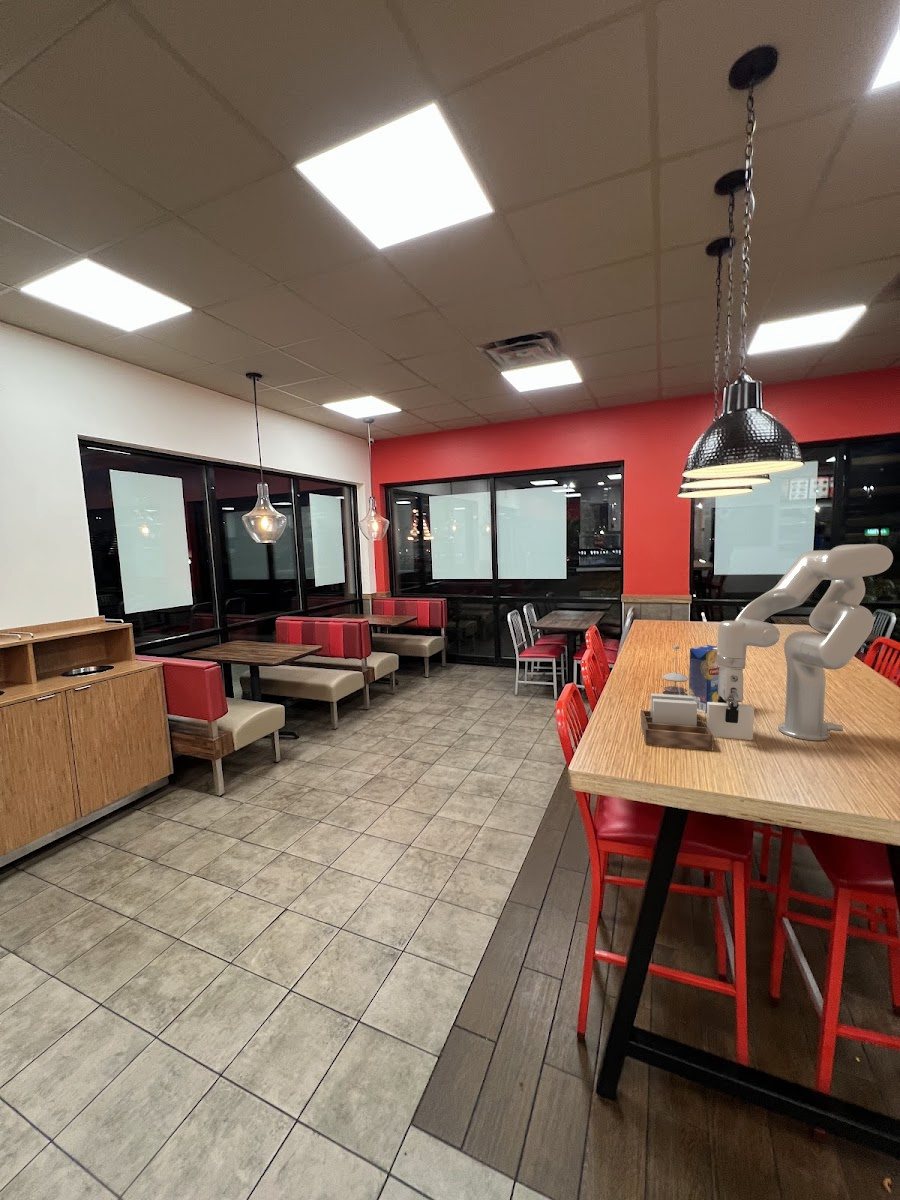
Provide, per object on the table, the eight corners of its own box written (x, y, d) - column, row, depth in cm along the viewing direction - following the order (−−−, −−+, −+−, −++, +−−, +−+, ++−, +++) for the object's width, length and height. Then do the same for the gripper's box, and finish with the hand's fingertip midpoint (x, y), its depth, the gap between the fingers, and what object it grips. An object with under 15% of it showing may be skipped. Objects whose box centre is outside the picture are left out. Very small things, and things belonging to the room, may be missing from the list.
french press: (683, 712, 167) (685, 642, 165) (697, 723, 156) (699, 649, 154) (655, 711, 168) (656, 642, 166) (666, 723, 157) (668, 649, 155)
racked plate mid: (694, 733, 145) (695, 701, 145) (696, 736, 143) (697, 704, 142) (652, 729, 149) (652, 698, 148) (653, 732, 146) (653, 701, 145)
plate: (750, 736, 145) (751, 704, 144) (752, 740, 142) (754, 707, 141) (706, 732, 148) (707, 701, 147) (708, 736, 145) (709, 704, 145)
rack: (699, 728, 152) (699, 714, 152) (712, 750, 135) (712, 735, 134) (640, 723, 157) (640, 710, 157) (645, 744, 140) (645, 729, 140)
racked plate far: (691, 726, 151) (691, 695, 150) (692, 729, 148) (693, 698, 147) (650, 723, 155) (650, 693, 154) (651, 726, 152) (651, 695, 151)
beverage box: (724, 708, 171) (726, 647, 169) (706, 713, 165) (708, 651, 163) (706, 703, 177) (708, 645, 175) (688, 708, 171) (689, 648, 169)
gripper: (753, 669, 133) (749, 728, 135) (737, 657, 150) (733, 709, 151) (723, 667, 136) (720, 725, 137) (710, 655, 152) (707, 707, 154)
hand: (727, 717), depth 144 cm, fingers open, 9 cm apart
